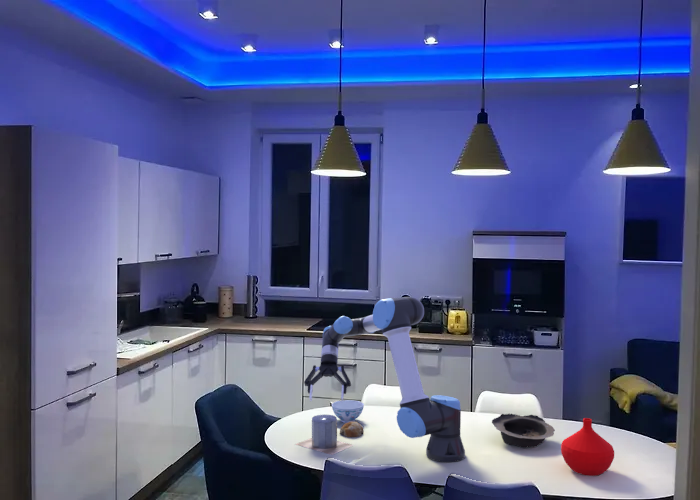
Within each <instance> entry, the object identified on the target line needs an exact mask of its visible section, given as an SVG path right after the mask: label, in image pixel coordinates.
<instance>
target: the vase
mask: <svg viewBox="0 0 700 500" xmlns="http://www.w3.org/2000/svg"><path fill="white" fill-rule="evenodd" d="M592 423H593V421H592V418H588V417H584V418H583V420H582V427H581V428H580V429H579V430H578V431H576V432H575V433H573V434H571V435H570V436H568V437H566V438H564V439H563V440H562V442H561V444H560V447H561V448H560V453H561V456H562V458H563V460H564V463H566V465H567V466H568V467H569V468H570V469H571V470H572V471H573V472H575V473H576V474H579V475H582V476H588V477H594V476H595V477H597V476H601V475H602V474H604V473H605V472H607V471H608V470H609V468H610V467H611V465H612V463H613V461H614V460H615V450H614V447H613V445H612V444H611V443H610V442H609V441H607V440H606V439H605V438H603V437H602V436H601V435H600V434H598V433H597V432H596V431H595V430H594V428H593V426H592Z"/></svg>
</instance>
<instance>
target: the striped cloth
mask: <svg viewBox="0 0 700 500" xmlns="http://www.w3.org/2000/svg"><path fill="white" fill-rule="evenodd" d="M295 445H296V446H299V447H303V448H306V449H309V450H310V449H311V450H314V451H317V452H320V453H323V454H328V455H331V456H333V455H335V454H337V453H340V452H342V451H345V450H347V449H349V448H352V447H354V446H355V445H354V444H352V443H351V444H350V443H347V442H345V441H343V442H342V441H341V440H340V441H339V440H337V445H336V447H333V448H329V449H318V448H315V447H313V446H312V437H310V438H308V439H304V440H303V441H300V442H297V443H295V444H294V446H295Z"/></svg>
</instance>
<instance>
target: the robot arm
mask: <svg viewBox="0 0 700 500" xmlns="http://www.w3.org/2000/svg"><path fill="white" fill-rule="evenodd" d="M424 315H425V308H424V305H423V303H422V302H421V300H419V299H418V298H416V297H412V296H404V297H402V296H401V297H388V298H384V299H380V300H378V301H377V302H376V303H375V305H374V308H373V311H372V314H370V315H367V316H364V317H358V318H352V319H351V318H350V317H348V316H345V315H342V316H339V317H338V318H337V319H336V320H335V321H334V323H333V324H331V325H329V326H326V327H324V329H323V332H322V343H321V354H320V356H321V357H320V364H319V366H316V365H315V364H314V365H313V366H312V369H311V371H310V373H309V374H308V376H307V377H306V378H305V380H304V386H305V387H307V393H308V394H309V402H313V401H312V400H313V391H314V388H313V386H314V385H315V384H316V383H317V382H318V381H319V380H320V379H322V378H323V377H324V378H326V377H330V378H332V377H334V378H335V379H336V380H337V382H339V384H340V385H341V395H340V396H341V397H340V399H341V400H340V401H342V402H343V400H345V399H344V398H345V397H344V395H346V394H347V389H348V387H351V386H352V384H351V380H350V378H349V376H348V374H347V373H346V370H345V366H344V364H343V365H340V366H338V362H339V360H338V357H339V344H340V342H341V341H342V340H343V339H344V338H346V337H352V336H361V335H371V334H374V333H375V332H376V331H381V332H382V335H383V336H384V337H386V338H387V340H388V345H389V349H390V353H391V357H392V361H393V366H394V370H395V374H396V378H397V382H398V386H399V390H400V395H401V401H400V402H399V409H398V411H397V413H396V422H397V425H398V428H399V430H400V432H402V433H403V434H404V435H405V436H407V437H408V438H411V439H415V438H423V437H425V436H428V435H430V436H429V439H428V442H427V446H426V450H425V456H426V457H428V459H430V460H432V461H436V462H441V463H455V462H460V461H463V460H464V459H465V457H466V450H465V446H464V443H463V440H462V437H461V423H462V422H461V421H462V420H461V417H462V416H461V415H462V413H461V411H462V409H461V401H460V399H458V398H455V397H452V396H448V395H440V394H439V395H437V394H435V395H431V396H430V397H429V395H427V394H425V392H424V389H423V388H424V387H423V383H422V380H421V377H420V372H419V368H418V364H417V360H416V357H415V353H414V349H413V345H412V341H411V337H410V336H411V335H410V331H411V330H412V326H414V325H417V324H419V322H421V321H422V319H423V318H424ZM317 372H318V373H317ZM338 372H339V373H341V374H342V376H341V375H339V373H338ZM316 373H317V374H316ZM342 377H343V378H344V379H343V378H342Z"/></svg>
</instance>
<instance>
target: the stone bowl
mask: <svg viewBox="0 0 700 500" xmlns="http://www.w3.org/2000/svg"><path fill="white" fill-rule="evenodd" d="M491 424H492V425H493V426H494V428H495V429H496V430H497V431H499V432H500V435H501V438H502V441H503V442H504V443H505V444H507V445H509V446H517V447H520V448H521V449H525V448H526V449H527V448H536V447H538V446H539V445H541V444H542V443H544V442H545V441H546V439H548V438H551V437H553V436H554V435H555V431H556V430H555V428H554V427H553V425H550V424H549V423H548V422H546V420H545V419H543V418H542V417H540V416H539V415H533V414H527V415H523V416H522V415H520V414H516V413H515V414H513V413H506V414H504V413H502V414H500V415H499V416H498V417H495V418H493V419H492V420H491Z"/></svg>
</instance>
